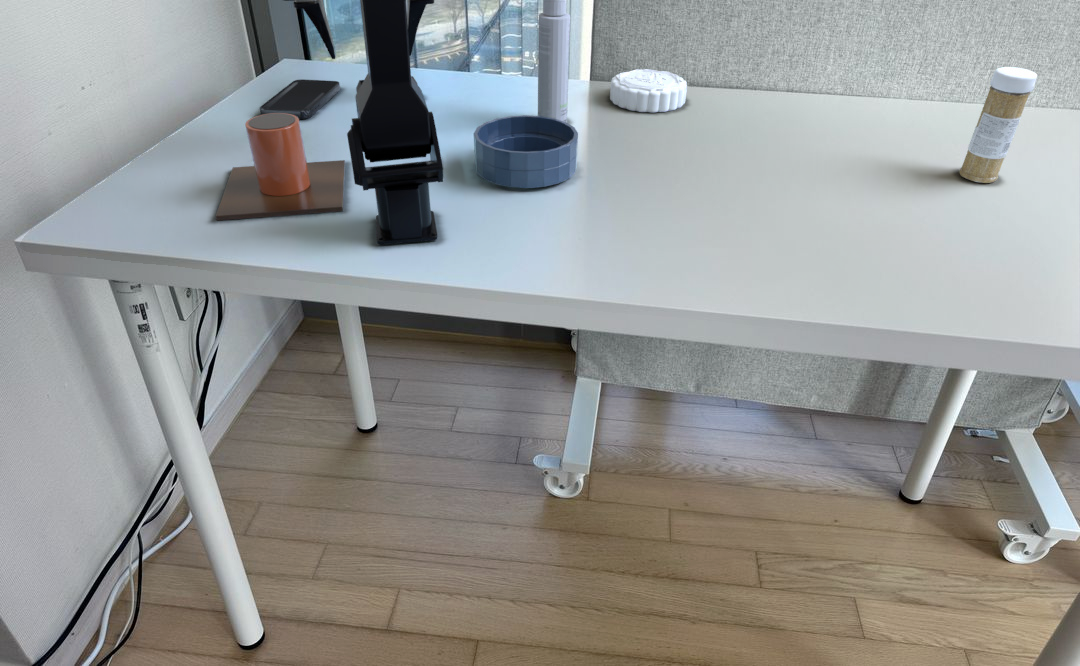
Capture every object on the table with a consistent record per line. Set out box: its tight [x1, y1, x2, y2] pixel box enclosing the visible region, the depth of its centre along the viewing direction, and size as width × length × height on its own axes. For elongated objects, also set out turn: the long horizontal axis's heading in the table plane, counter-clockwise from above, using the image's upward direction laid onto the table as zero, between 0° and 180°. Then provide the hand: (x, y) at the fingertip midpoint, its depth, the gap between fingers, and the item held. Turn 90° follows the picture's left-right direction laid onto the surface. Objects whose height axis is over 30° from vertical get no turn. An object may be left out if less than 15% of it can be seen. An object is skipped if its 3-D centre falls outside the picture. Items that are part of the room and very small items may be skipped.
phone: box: [259, 79, 341, 120], centre depth 118 cm, size 8×1×15 cm
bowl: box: [473, 114, 579, 189], centre depth 96 cm, size 13×13×5 cm
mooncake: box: [609, 68, 688, 114], centre depth 119 cm, size 12×12×4 cm
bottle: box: [537, 0, 571, 123], centre depth 106 cm, size 4×4×20 cm
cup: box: [244, 113, 310, 196], centre depth 89 cm, size 6×6×8 cm
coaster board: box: [215, 159, 346, 221], centre depth 91 cm, size 14×14×1 cm
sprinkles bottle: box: [958, 66, 1038, 184], centre depth 93 cm, size 5×5×14 cm
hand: (371, 56), depth 93 cm, fingers open, 9 cm apart
